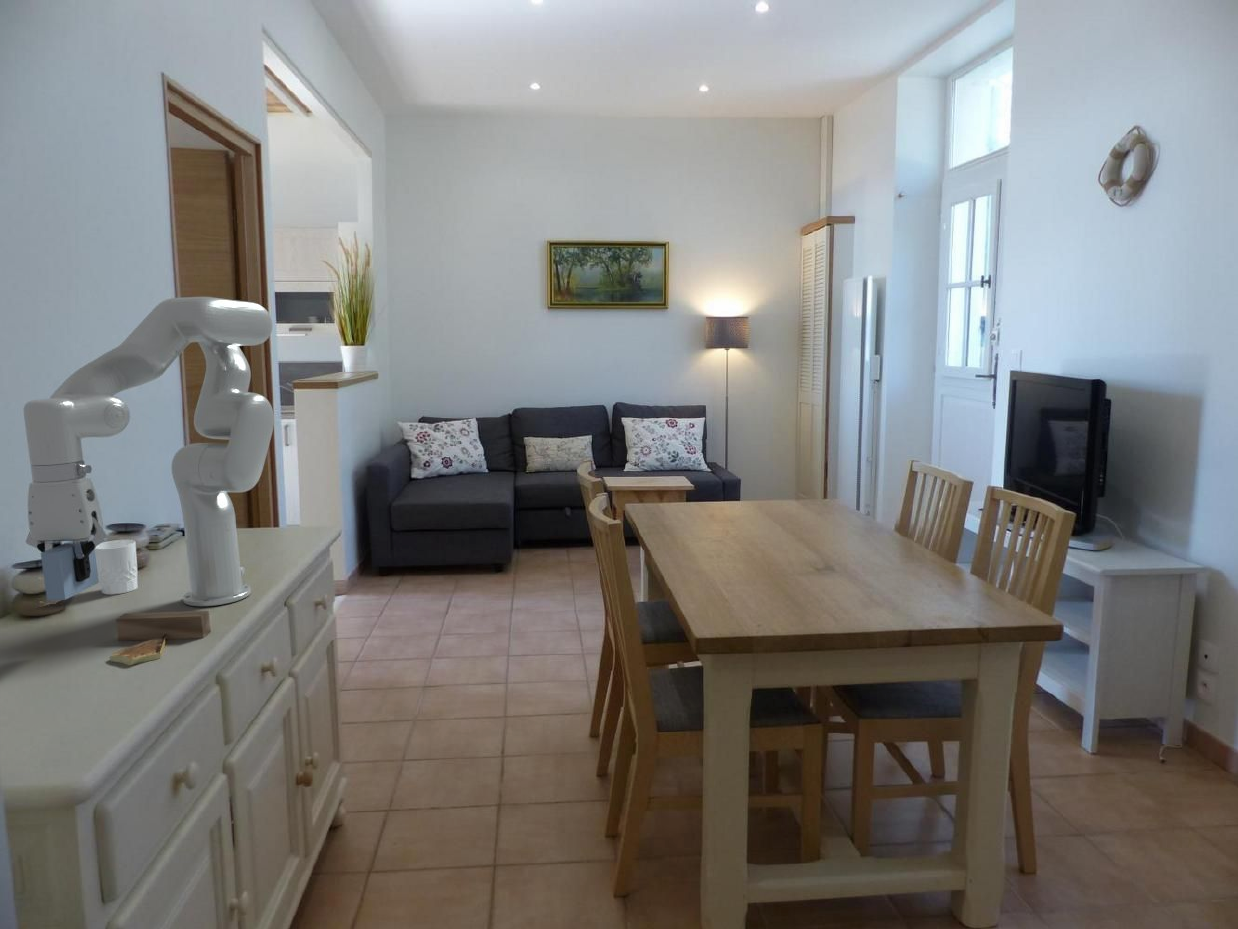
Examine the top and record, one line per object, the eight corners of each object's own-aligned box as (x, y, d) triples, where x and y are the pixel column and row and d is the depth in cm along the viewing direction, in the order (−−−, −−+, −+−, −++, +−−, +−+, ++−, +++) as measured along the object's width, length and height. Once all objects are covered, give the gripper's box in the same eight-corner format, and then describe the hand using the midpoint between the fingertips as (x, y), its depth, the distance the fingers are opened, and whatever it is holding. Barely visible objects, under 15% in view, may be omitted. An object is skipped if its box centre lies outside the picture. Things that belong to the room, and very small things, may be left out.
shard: (167, 641, 162) (166, 632, 162) (195, 647, 159) (194, 637, 158) (108, 663, 153) (107, 652, 152) (137, 669, 149) (136, 659, 149)
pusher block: (47, 600, 150) (40, 553, 149) (81, 583, 160) (76, 538, 159) (65, 599, 150) (59, 552, 149) (98, 582, 160) (93, 538, 159)
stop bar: (127, 634, 165) (124, 613, 164) (210, 631, 165) (208, 610, 164) (118, 640, 162) (115, 619, 161) (203, 637, 162) (201, 616, 161)
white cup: (103, 598, 188) (96, 551, 186) (95, 590, 194) (89, 544, 192) (145, 590, 193) (139, 544, 191) (136, 582, 199) (130, 537, 197)
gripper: (119, 467, 156) (132, 572, 158) (23, 471, 155) (37, 575, 158) (95, 475, 148) (108, 585, 151) (-6, 478, 148) (9, 588, 151)
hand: (72, 579), depth 155 cm, fingers closed on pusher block, 3 cm apart
